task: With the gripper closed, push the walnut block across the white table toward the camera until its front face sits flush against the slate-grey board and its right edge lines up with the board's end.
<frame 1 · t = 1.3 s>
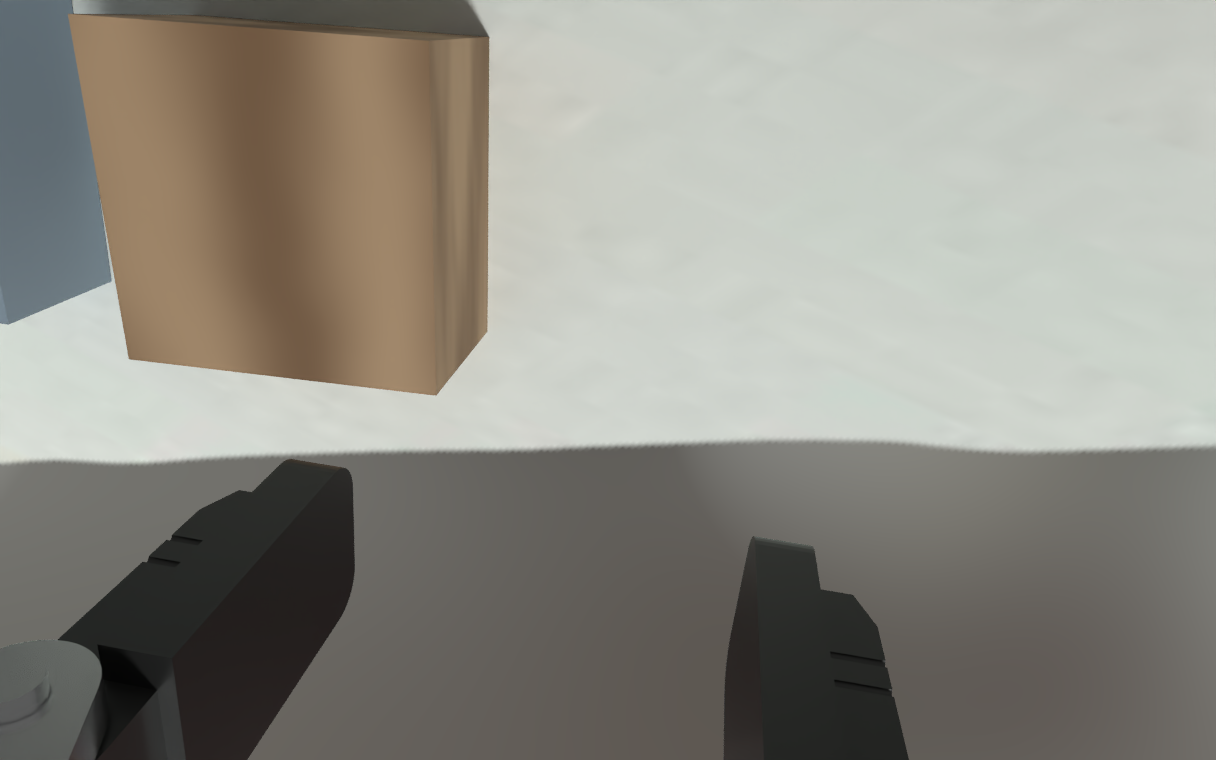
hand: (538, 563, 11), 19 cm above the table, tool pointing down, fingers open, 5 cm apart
walnut block: (350, 180, 29), on the table
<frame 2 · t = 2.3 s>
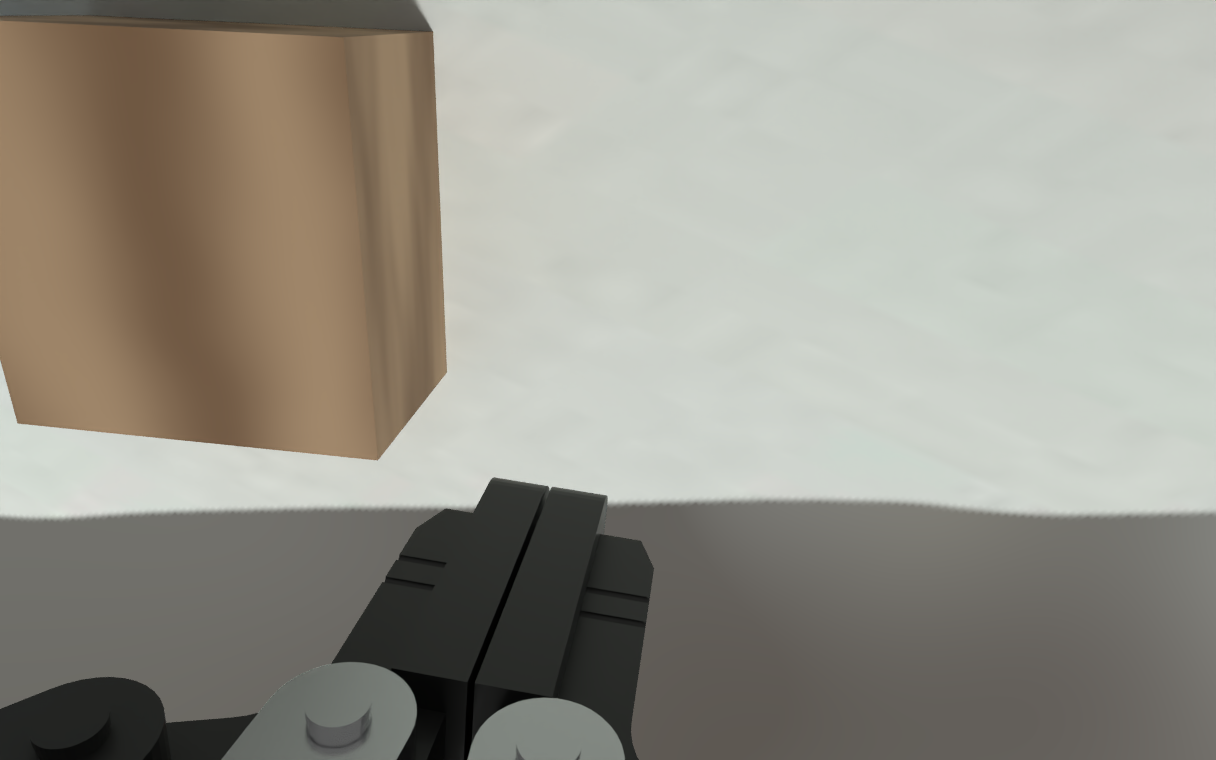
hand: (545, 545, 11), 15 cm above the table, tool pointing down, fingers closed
walnut block: (282, 202, 25), on the table
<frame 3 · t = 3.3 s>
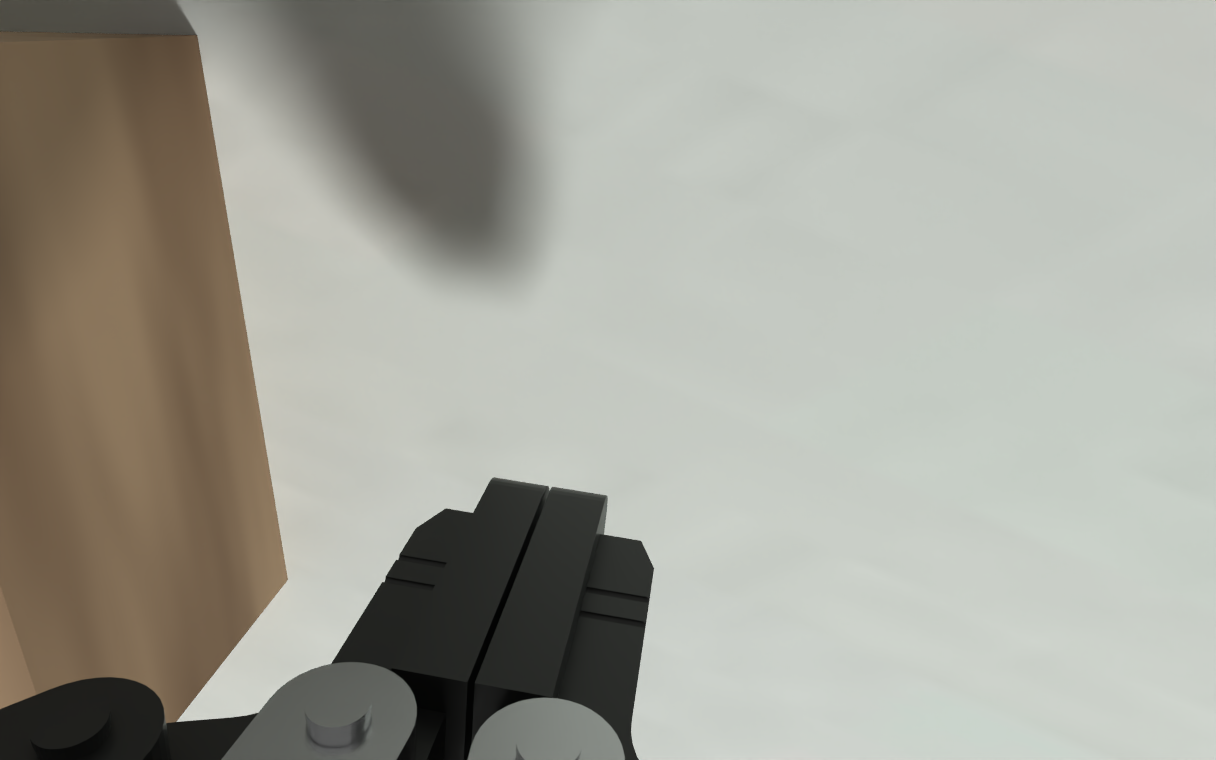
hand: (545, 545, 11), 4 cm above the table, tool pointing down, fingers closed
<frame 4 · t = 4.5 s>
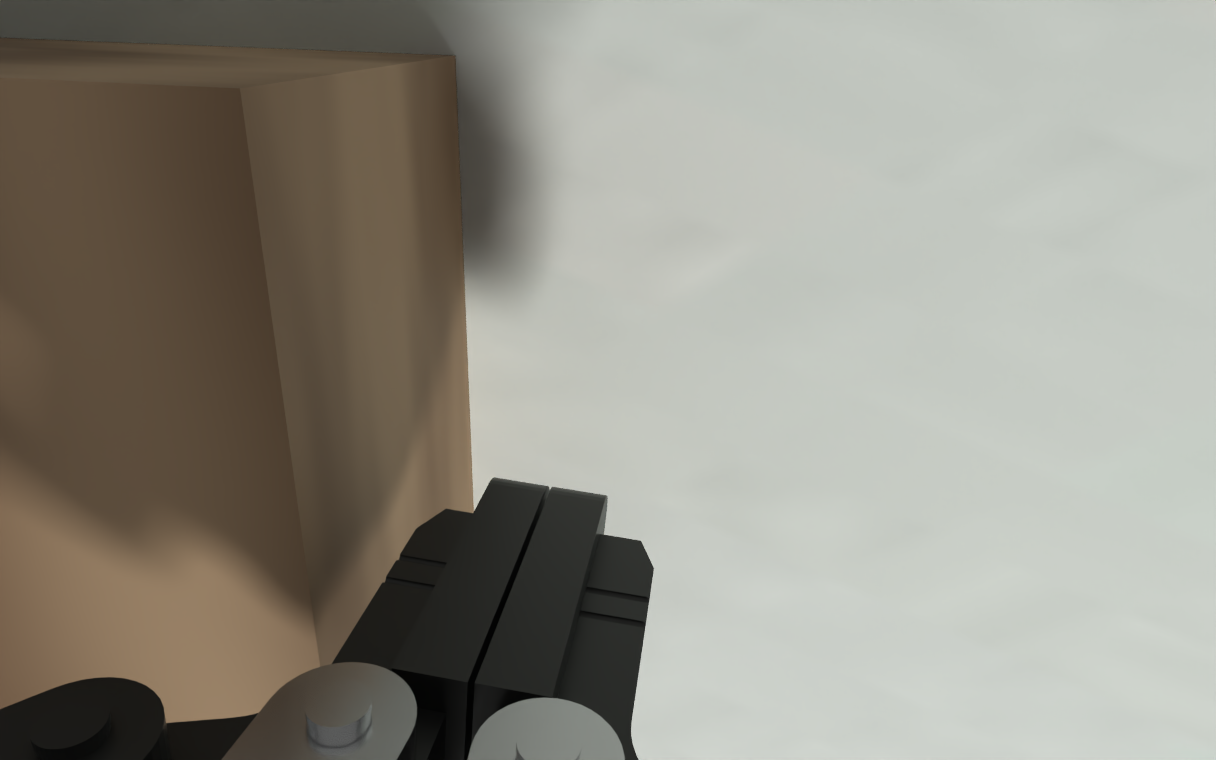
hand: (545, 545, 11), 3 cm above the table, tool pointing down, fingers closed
walnut block: (194, 348, 15), on the table
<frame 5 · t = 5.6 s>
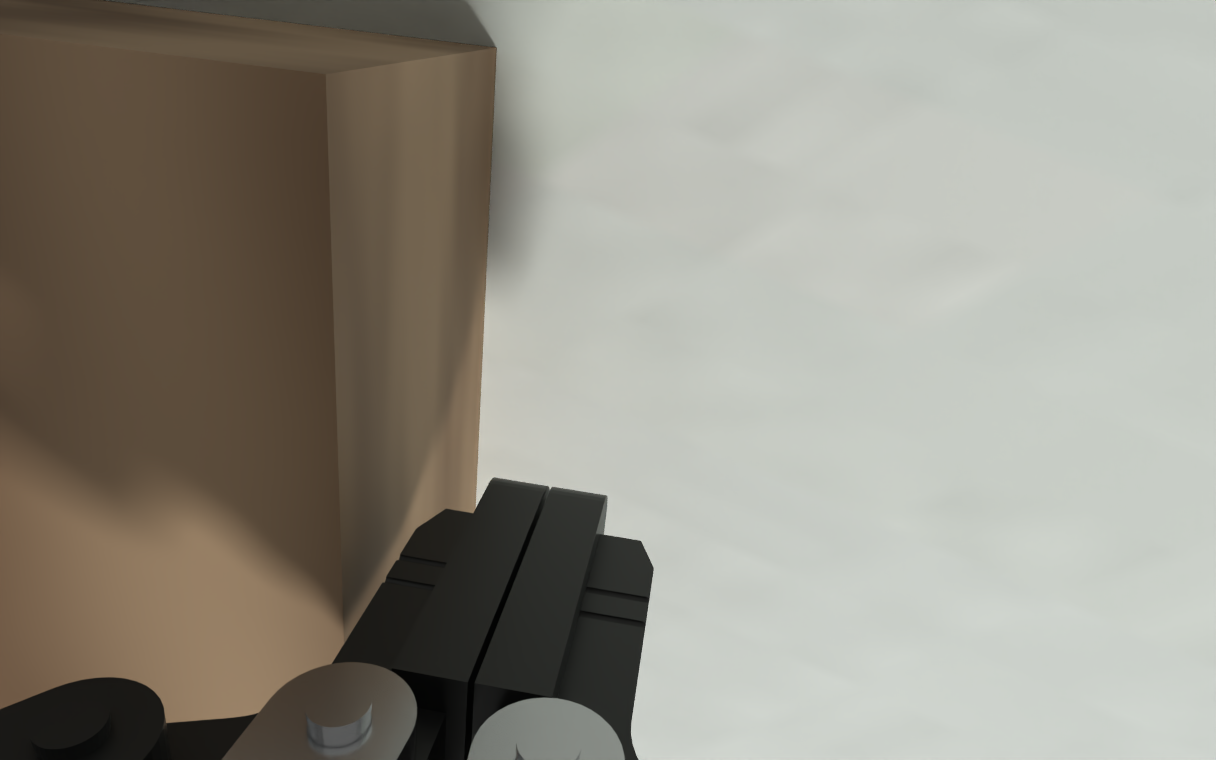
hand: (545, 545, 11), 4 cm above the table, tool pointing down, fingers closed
walnut block: (208, 317, 15), on the table, touching gripper
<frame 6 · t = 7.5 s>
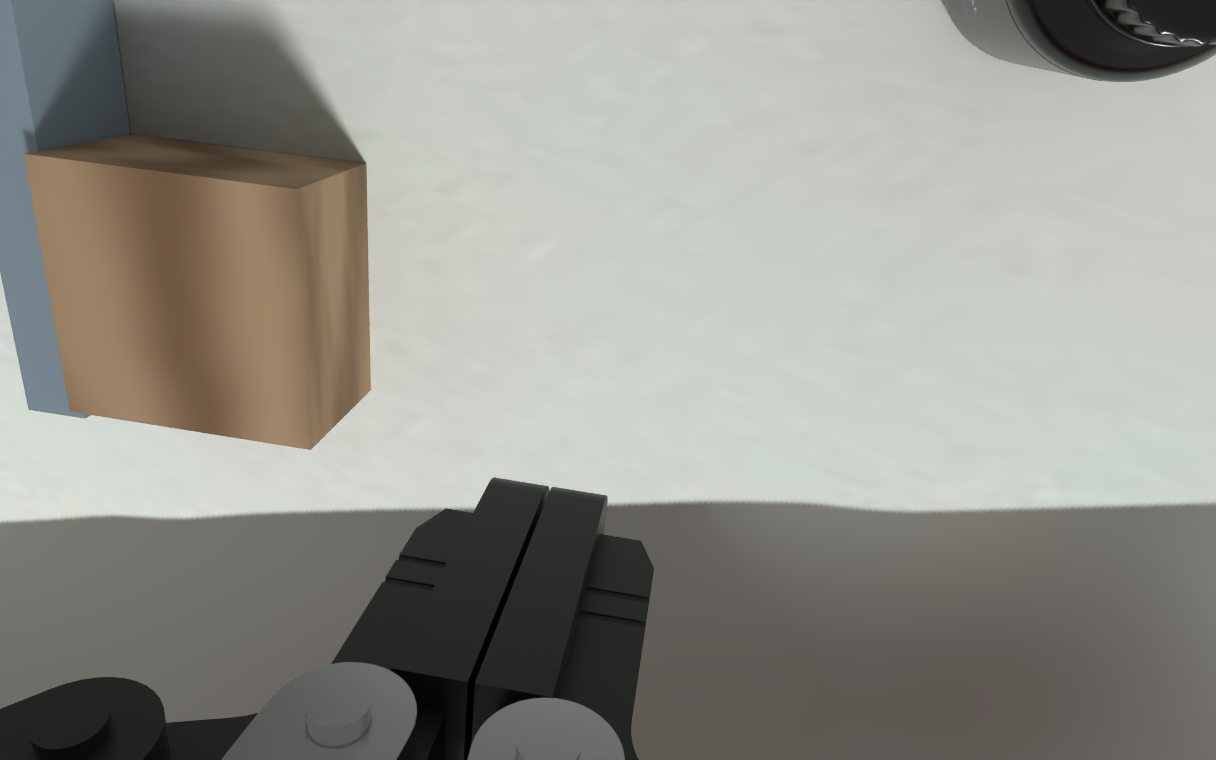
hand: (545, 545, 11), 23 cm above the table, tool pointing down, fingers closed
walnut block: (259, 266, 36), on the table
slate board: (104, 147, 35), on the table
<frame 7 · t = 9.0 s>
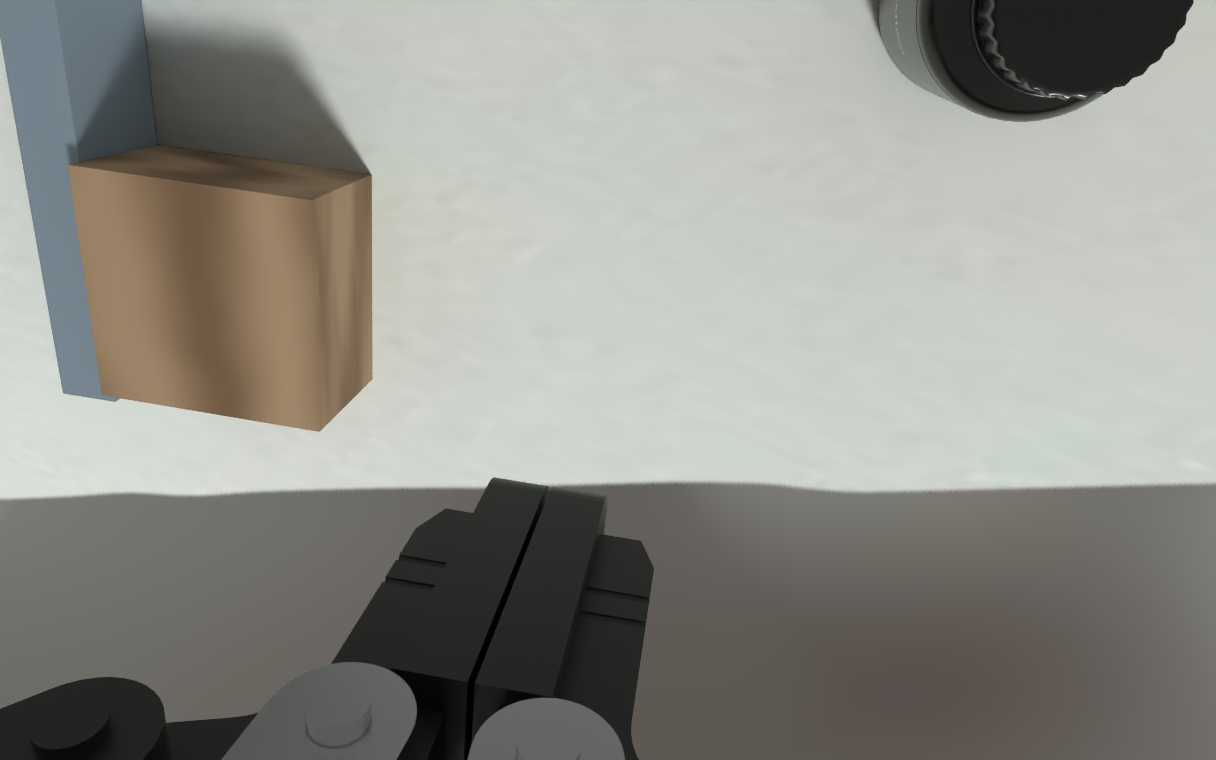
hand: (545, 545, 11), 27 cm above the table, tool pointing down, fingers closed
walnut block: (272, 265, 40), on the table
supplement bottle: (967, 2, 32), on the table
slate board: (133, 156, 39), on the table
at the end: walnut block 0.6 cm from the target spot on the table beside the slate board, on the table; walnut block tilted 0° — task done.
